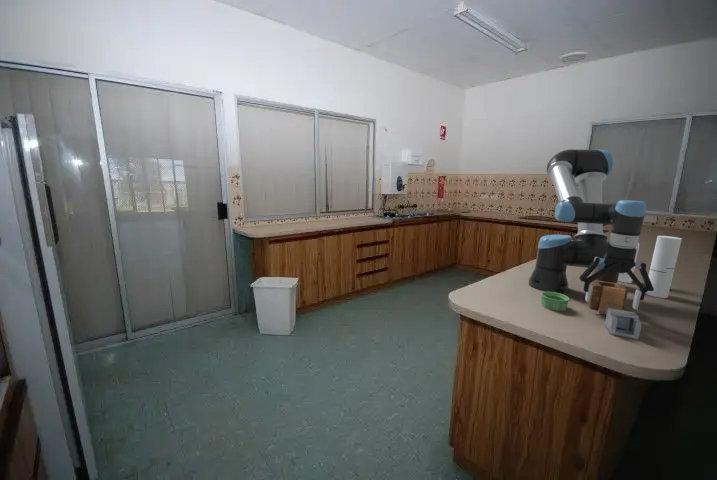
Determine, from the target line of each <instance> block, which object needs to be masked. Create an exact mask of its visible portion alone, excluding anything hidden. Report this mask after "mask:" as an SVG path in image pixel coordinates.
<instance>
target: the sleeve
mask: <svg viewBox="0 0 717 480" xmlns="http://www.w3.org/2000/svg"><path fill="white" fill-rule="evenodd" d="M615 315H616V316H622V317H628V318H630V324H629V328H628V329H624V328H619V327H616V326H617V321H618V318H617V317H616V316H615ZM605 316H606V315H605ZM642 325H643V323H642V322H641V321H640V315H639V314H638V313H637V312H634V311H628V310H624V311H623V310H617V309H611V308H608V311H607V316H606V317H605V322H604V327H605V329H606V331H607V332H608V334H609V335H614V336H619V337H623V338H629V339H634V340H639V339H640V333H641V331H642Z"/></svg>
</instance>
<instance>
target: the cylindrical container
mask: <svg viewBox="0 0 717 480" xmlns="http://www.w3.org/2000/svg"><path fill="white" fill-rule="evenodd" d="M682 240H683V238H681V237H678V236H670V235H668V236H667V235H657V237H656V241H655V245H654V250H653V253H652V259H651V264H650V268H649V272H648V276H649V279H650V281H651V283H652V286H653V288H654V290H653V291H647V292H646V293H645V295H648V296H651V297H655V298H663V299H667V298H668V297H669V293H670V290H671V284H672V282H673V281H672V280H673V276H674V272H675V270H676V269H675V268H676V266H677V260H678V256H679V252H680V249H681V244H682Z"/></svg>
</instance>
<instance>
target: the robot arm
mask: <svg viewBox="0 0 717 480" xmlns="http://www.w3.org/2000/svg"><path fill="white" fill-rule="evenodd" d="M613 160H614V159H613V155H612V154H611V152H610V151H608V150H607V149H599V148H596V149H595V148H594V149H566V150H565V149H564V150H562V151H559V152H558V153H556V154H554V155H553V156H552V157H551V158H550V159H549V161H548V163H547V165H546V174H547V176H548V178H549V179H551V182H552V184H553V187H554V190H555V191H554V192H555V194H556V197H557V200H558V203H557V204H556V206H555V210H554V214H555V215H554V217H555V218H554V219H556V220H557V221H558V222H566V223H577V233H576V234H575V235H574V236H573V237H572V236H571V235H568V234H547V235H543V236H541V237H540V239H539V241H538V244H537V253H536V260H535V266H534V269H533V271H532V273H531V274H530V276H529V278H528V285H529V286H530V287H532V288H534V289H538V290H541V291H543V292H555V293H566V292H568V290H569V282H568V277H567V267H577V268H584V269H585V268H586V269H585V270H584V272H582V274H581V275H580V276H579V280H580V282H584V285H583V291H584V293H585V298H584V300H586V301H587V302H589V299H590V294H591V289H592V284H591V282H593V281H594V280H596V279H597V278H599V277H600V276H602V275H603V274H605V273H607V272H609V271H611V272H619V273H623V274H624V273H627V274H628V275H629V276H630V277H631V279H632V282H633V283H634V284H635V285H636V287H637V288H636V289H635V292H634V297H633V301H632V305H631V307H632V309H634V310H635V311H638V310H639V309H638V308H639V305H640V301H644V300H645V295H646V292H647V291H653V290H654V288H653V286H652V283H651V281H650V279H649V273H648V271H647V264H646V263H645V262H644V261H642V260H641V261H639V262H637V261H636V262H635V261H634V260H635V256H636V251H637V249H636V248H635V247H637V246H638V243H640V242H639V241H640V236H641V232H642V228H643V224H644V221H645V220H644V219H645V216H646V212H647V211H646V210H647V203H646V202H645V201H642V200H641V201H640V200H632V199H631V200H630V199H629V200H626V199H620V200H618V201H617V202H615V203H614V202H609V203H603V181H605V180H606V179H607V176H609V175H610V174H611V172H612V169H613V164H614V161H613ZM577 184H578V185H577ZM603 225H610V226H611V231H610V235H609V236H610V237H609V239H608V235H606V234H605V233H604V227H603ZM634 266H635V267H636V268H637V269H638V270H639V272H640V276H641V278H642V280H643V282H644V285H645V286H644V285H643V284H642V282H641V281H640V279H638V277H637V276H636V275H635V274H634V273H633V272H632V271H631V270H630V269H632V268H633V267H634ZM595 268H596V269H600V270H598V271H597V272H595V273H594V274H592V271H593V270H594V269H595Z"/></svg>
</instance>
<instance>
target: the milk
mask: <svg viewBox="0 0 717 480" xmlns="http://www.w3.org/2000/svg"><path fill="white" fill-rule="evenodd" d="M635 248H636V249H637V251H636V256H635V260H634V261H635V262H637V259H638V254H639V250H640V242H638V246H637V247H635ZM635 269H636V266H634V267H633V268H632V269H630V270H631V271H632V272H633V273H634V272H635ZM617 282H620V283H627V284H632V282H633V280H632V279H631V277H630V276H629V275H628V274H627V273H624V274H623V273H619V276H618V281H617Z"/></svg>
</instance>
